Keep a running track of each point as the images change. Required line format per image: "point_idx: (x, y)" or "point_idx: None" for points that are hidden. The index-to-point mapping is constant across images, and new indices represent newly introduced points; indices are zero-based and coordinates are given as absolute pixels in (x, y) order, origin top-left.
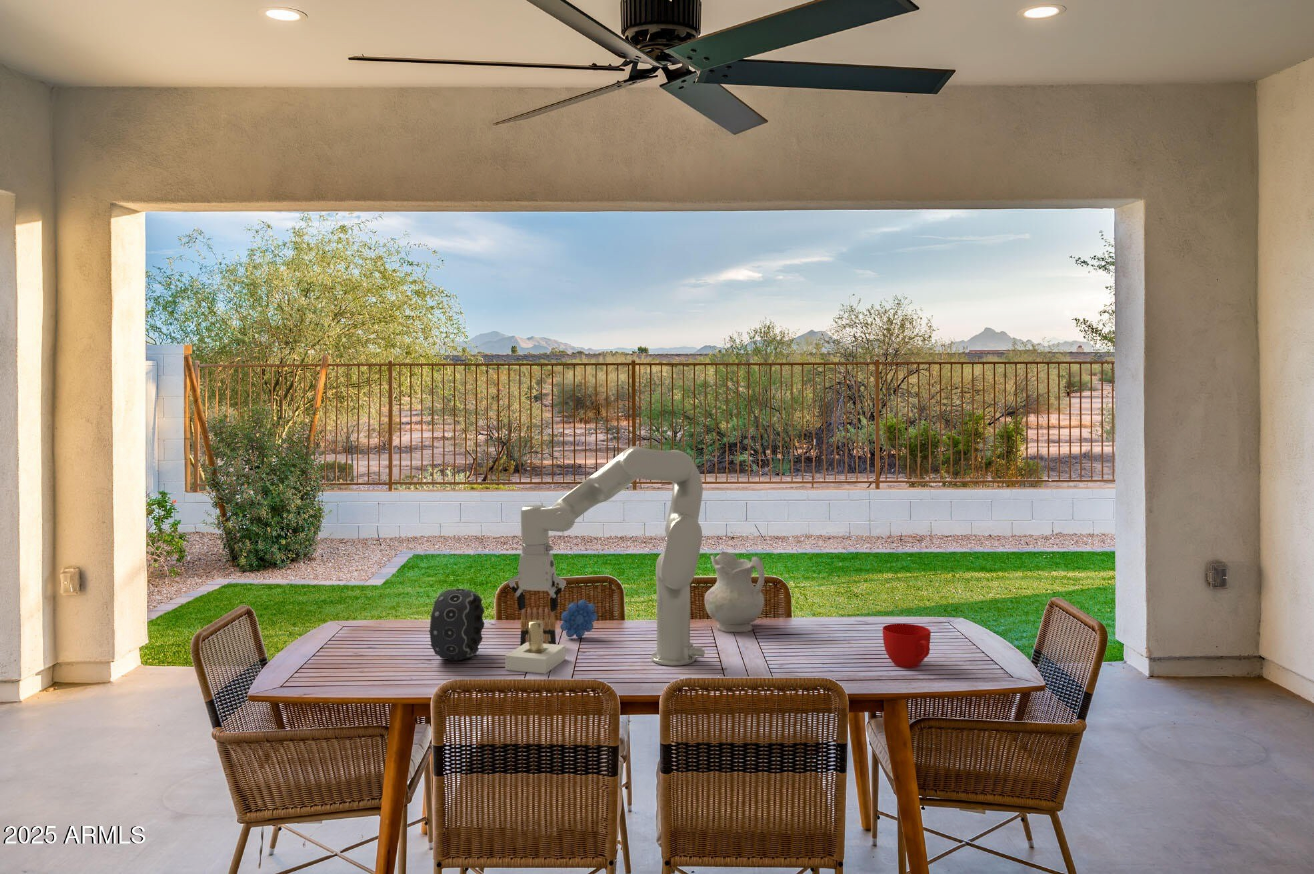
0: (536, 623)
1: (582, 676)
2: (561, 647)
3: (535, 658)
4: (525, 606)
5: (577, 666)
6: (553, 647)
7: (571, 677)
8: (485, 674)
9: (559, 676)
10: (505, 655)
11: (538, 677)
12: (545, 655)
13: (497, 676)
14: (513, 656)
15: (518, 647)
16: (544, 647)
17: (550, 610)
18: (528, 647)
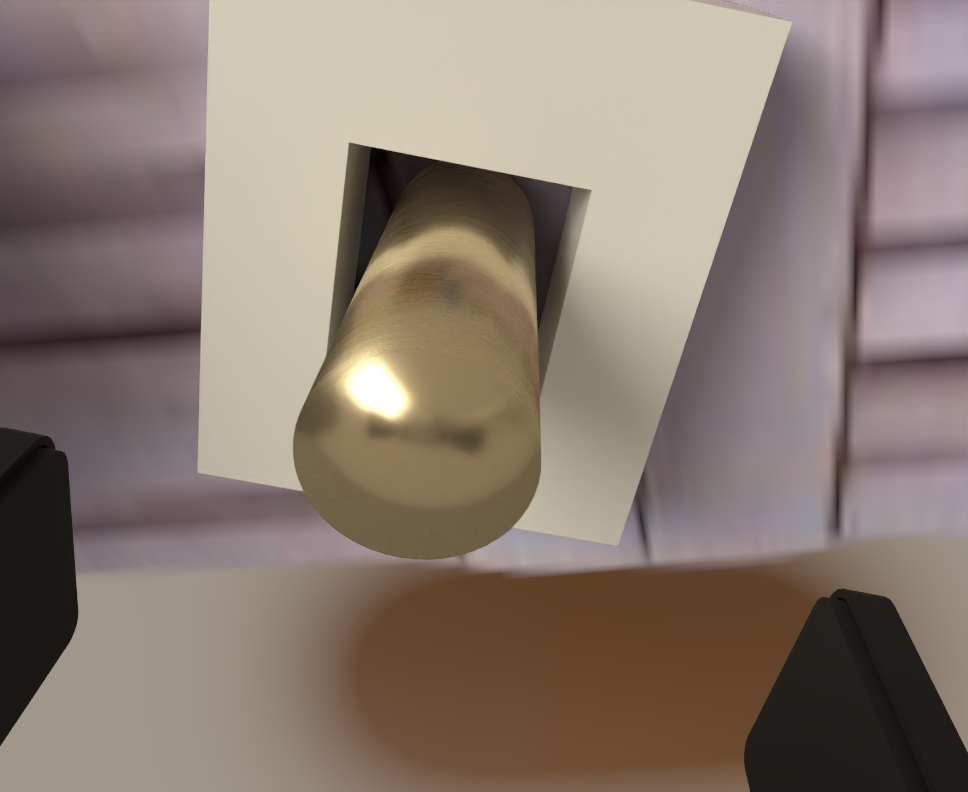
0: (452, 534)
1: (921, 507)
2: (745, 134)
3: (517, 527)
4: (46, 462)
5: (885, 257)
6: (641, 144)
7: (829, 532)
8: (135, 509)
9: (730, 517)
10: (199, 472)
11: (566, 546)
12: (598, 449)
13: (247, 543)
14: (286, 486)
15: (207, 186)
16: (526, 155)
17: (748, 768)
18: (327, 174)
